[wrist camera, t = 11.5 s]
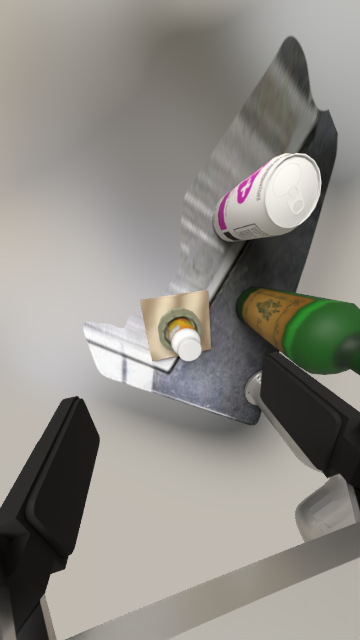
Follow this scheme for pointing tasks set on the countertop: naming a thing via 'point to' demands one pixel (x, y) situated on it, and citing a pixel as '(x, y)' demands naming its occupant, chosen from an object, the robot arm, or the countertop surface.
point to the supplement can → (269, 200)
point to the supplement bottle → (184, 339)
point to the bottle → (305, 328)
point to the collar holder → (172, 307)
